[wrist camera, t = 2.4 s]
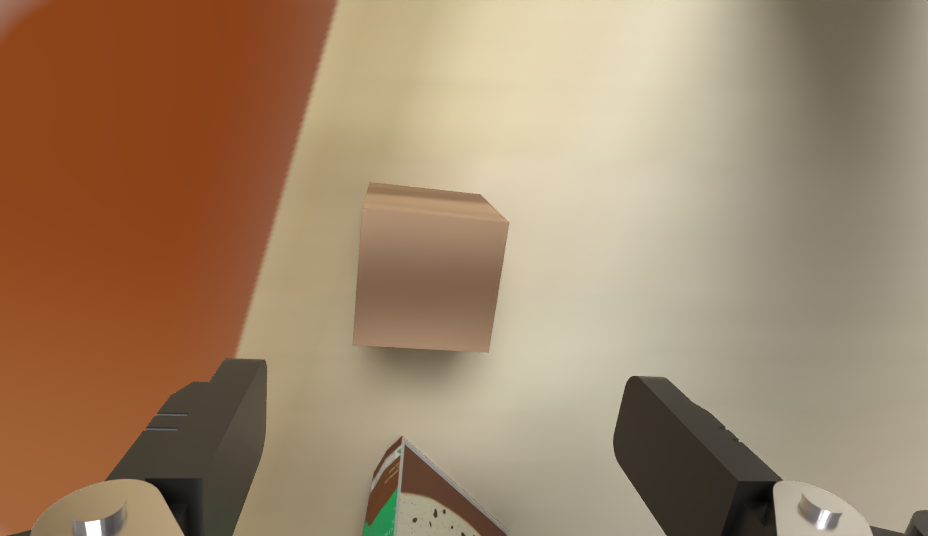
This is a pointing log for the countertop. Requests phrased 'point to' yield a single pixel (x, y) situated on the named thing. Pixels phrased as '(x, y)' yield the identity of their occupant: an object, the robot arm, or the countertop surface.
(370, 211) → the walnut block
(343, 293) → the countertop surface
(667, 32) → the countertop surface
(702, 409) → the robot arm
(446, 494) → the food container
